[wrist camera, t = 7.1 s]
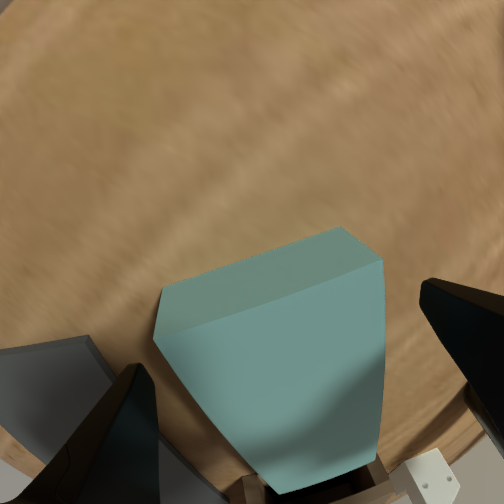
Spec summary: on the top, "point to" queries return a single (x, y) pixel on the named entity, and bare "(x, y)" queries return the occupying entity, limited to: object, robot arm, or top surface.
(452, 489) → the white wedge bracket
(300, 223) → the top surface
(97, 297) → the top surface
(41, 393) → the rubber mat
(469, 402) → the supplement bottle
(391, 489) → the sleeve box
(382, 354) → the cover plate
